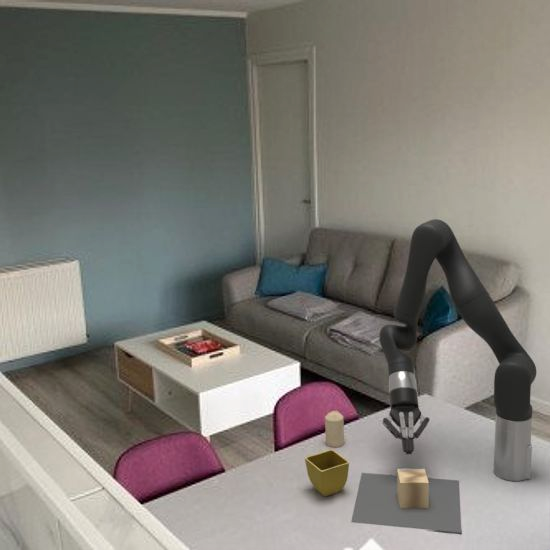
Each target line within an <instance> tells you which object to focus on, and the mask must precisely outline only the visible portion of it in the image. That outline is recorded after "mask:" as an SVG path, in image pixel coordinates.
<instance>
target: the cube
mask: <svg viewBox="0 0 550 550" xmlns="http://www.w3.org/2000/svg"><path fill="white" fill-rule="evenodd" d="M396 475H397V495H398V500H399V504H400V508H428V507H429V482H428V478H429V477H428V475H427V471H426V469H425V468H397V469H396Z"/></svg>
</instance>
